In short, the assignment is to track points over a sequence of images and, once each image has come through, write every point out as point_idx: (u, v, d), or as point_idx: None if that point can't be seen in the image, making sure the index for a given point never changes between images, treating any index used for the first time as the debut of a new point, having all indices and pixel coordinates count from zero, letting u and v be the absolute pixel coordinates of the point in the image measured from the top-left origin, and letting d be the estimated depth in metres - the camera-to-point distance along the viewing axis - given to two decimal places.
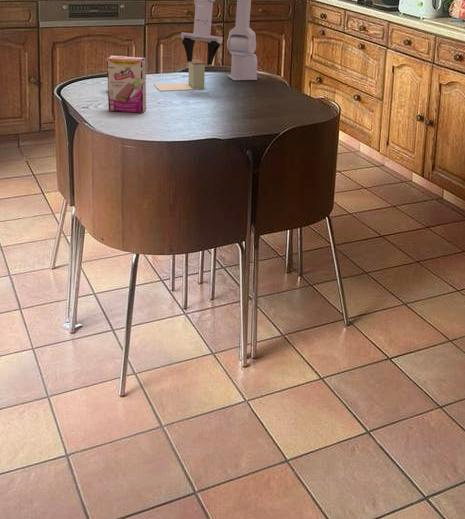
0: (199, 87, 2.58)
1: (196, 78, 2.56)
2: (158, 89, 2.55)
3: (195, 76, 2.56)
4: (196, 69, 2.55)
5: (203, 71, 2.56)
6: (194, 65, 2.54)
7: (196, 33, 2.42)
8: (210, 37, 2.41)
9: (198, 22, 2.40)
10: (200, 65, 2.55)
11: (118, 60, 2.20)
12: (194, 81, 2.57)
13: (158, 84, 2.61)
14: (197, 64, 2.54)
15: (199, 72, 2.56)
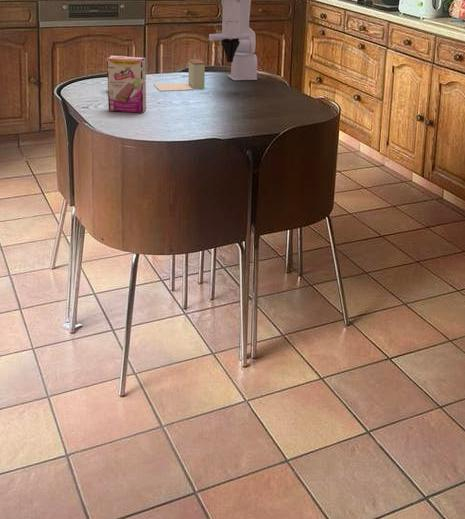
0: (199, 87, 2.58)
1: (196, 78, 2.56)
2: (158, 89, 2.55)
3: (195, 76, 2.56)
4: (196, 69, 2.55)
5: (203, 71, 2.56)
6: (194, 65, 2.54)
7: (230, 34, 2.44)
8: (243, 36, 2.47)
9: (232, 23, 2.42)
10: (200, 65, 2.55)
11: (118, 60, 2.20)
12: (194, 81, 2.57)
13: (158, 84, 2.61)
14: (197, 64, 2.54)
15: (199, 72, 2.56)
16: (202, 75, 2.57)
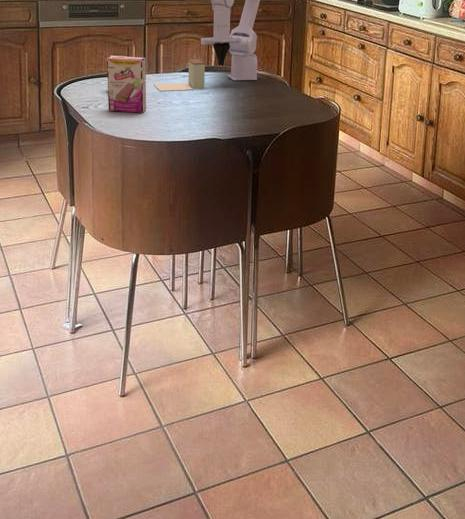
0: (199, 87, 2.58)
1: (196, 78, 2.56)
2: (158, 89, 2.55)
3: (195, 76, 2.56)
4: (196, 69, 2.55)
5: (203, 71, 2.56)
6: (194, 65, 2.54)
7: (221, 38, 2.54)
8: (233, 40, 2.56)
9: (223, 28, 2.52)
10: (200, 65, 2.55)
11: (118, 60, 2.20)
12: (194, 81, 2.57)
13: (158, 84, 2.61)
14: (197, 64, 2.54)
15: (199, 72, 2.56)
16: (202, 75, 2.57)
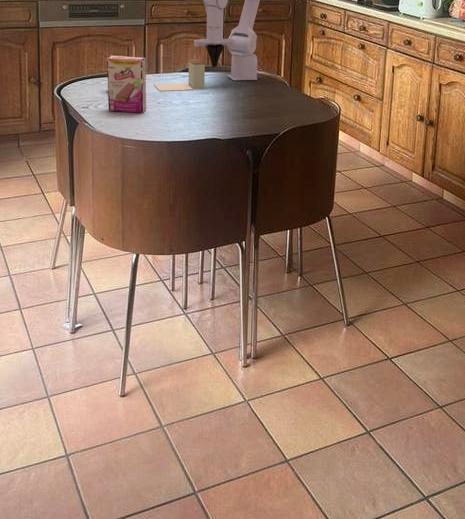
0: (199, 87, 2.58)
1: (196, 78, 2.56)
2: (158, 89, 2.55)
3: (195, 76, 2.56)
4: (196, 69, 2.55)
5: (203, 71, 2.56)
6: (194, 65, 2.54)
7: (215, 40, 2.53)
8: (227, 41, 2.56)
9: (216, 29, 2.52)
10: (200, 65, 2.55)
11: (118, 60, 2.20)
12: (194, 81, 2.57)
13: (158, 84, 2.61)
14: (197, 64, 2.54)
15: (199, 72, 2.56)
16: (202, 75, 2.57)
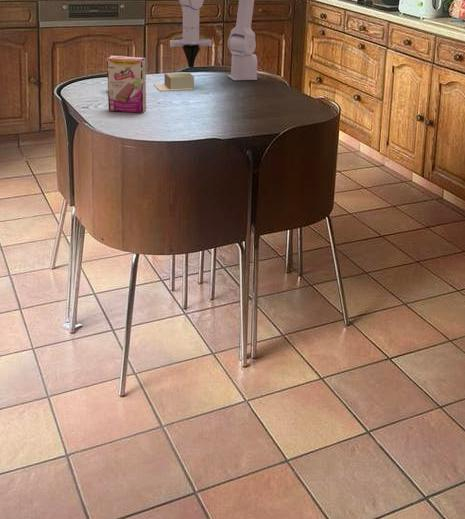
0: (192, 81, 2.57)
1: (183, 85, 2.56)
2: (158, 89, 2.55)
3: (182, 87, 2.56)
4: (175, 86, 2.55)
5: (177, 78, 2.54)
6: (171, 88, 2.55)
7: (191, 40, 2.51)
8: (203, 42, 2.53)
9: (192, 30, 2.49)
10: (171, 81, 2.54)
11: (118, 60, 2.20)
12: (186, 87, 2.57)
13: (158, 84, 2.61)
14: (170, 85, 2.55)
15: (178, 82, 2.55)
16: (181, 79, 2.55)
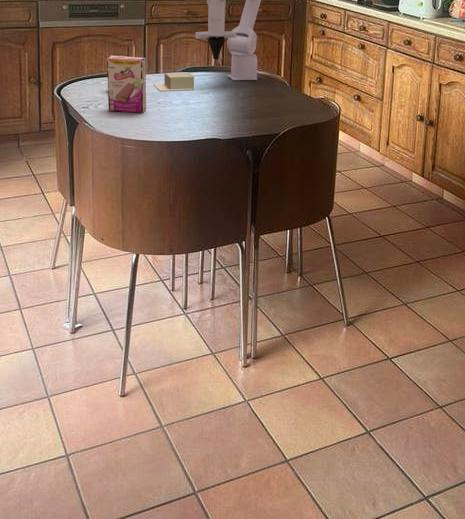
0: (192, 81, 2.57)
1: (183, 85, 2.56)
2: (158, 89, 2.55)
3: (182, 87, 2.56)
4: (175, 86, 2.55)
5: (177, 78, 2.54)
6: (171, 88, 2.55)
7: (216, 32, 2.52)
8: (228, 34, 2.55)
9: (218, 21, 2.51)
10: (171, 81, 2.54)
11: (118, 60, 2.20)
12: (186, 87, 2.57)
13: (158, 84, 2.61)
14: (170, 85, 2.55)
15: (178, 82, 2.55)
16: (181, 79, 2.55)
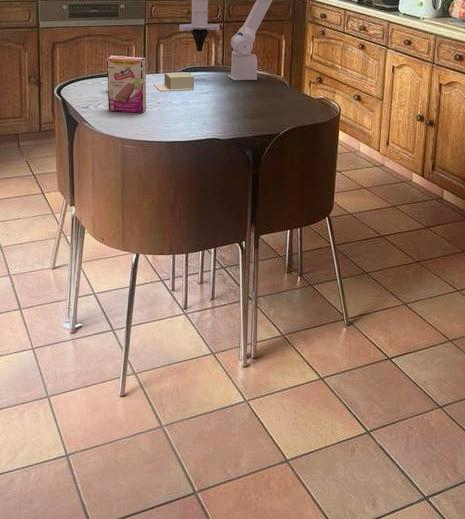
0: (192, 81, 2.57)
1: (183, 85, 2.56)
2: (158, 89, 2.55)
3: (182, 87, 2.56)
4: (175, 86, 2.55)
5: (177, 78, 2.54)
6: (171, 88, 2.55)
7: (199, 24, 2.60)
8: (211, 26, 2.63)
9: (201, 14, 2.59)
10: (171, 81, 2.54)
11: (118, 60, 2.20)
12: (186, 87, 2.57)
13: (158, 84, 2.61)
14: (170, 85, 2.55)
15: (178, 82, 2.55)
16: (181, 79, 2.55)
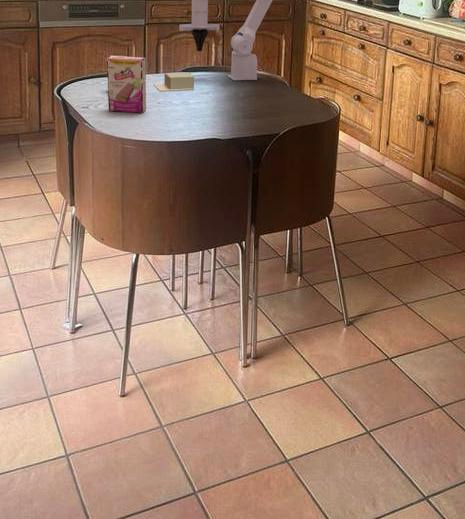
0: (192, 81, 2.57)
1: (183, 85, 2.56)
2: (158, 89, 2.55)
3: (182, 87, 2.56)
4: (175, 86, 2.55)
5: (177, 78, 2.54)
6: (171, 88, 2.55)
7: (199, 24, 2.60)
8: (211, 26, 2.63)
9: (201, 14, 2.59)
10: (171, 81, 2.54)
11: (118, 60, 2.20)
12: (186, 87, 2.57)
13: (158, 84, 2.61)
14: (170, 85, 2.55)
15: (178, 82, 2.55)
16: (181, 79, 2.55)
